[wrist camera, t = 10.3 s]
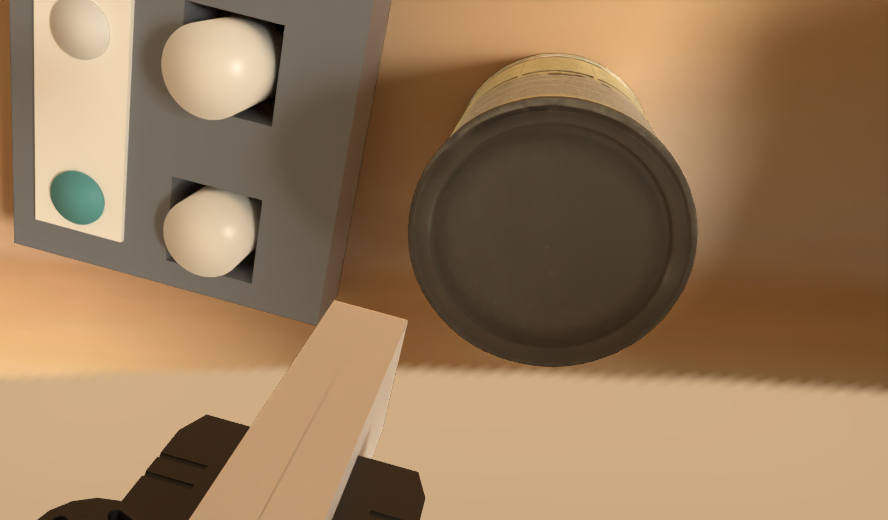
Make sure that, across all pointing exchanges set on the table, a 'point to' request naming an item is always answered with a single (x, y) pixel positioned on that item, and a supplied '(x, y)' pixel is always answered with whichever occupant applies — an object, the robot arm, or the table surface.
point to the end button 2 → (212, 230)
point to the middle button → (222, 65)
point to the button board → (191, 141)
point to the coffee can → (552, 217)
